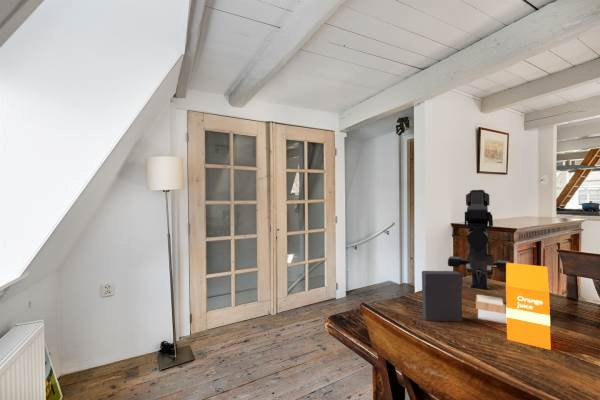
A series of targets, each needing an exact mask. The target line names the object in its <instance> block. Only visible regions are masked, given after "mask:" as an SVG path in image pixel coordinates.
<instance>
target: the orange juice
mask: <svg viewBox="0 0 600 400" xmlns="http://www.w3.org/2000/svg"><path fill="white" fill-rule="evenodd" d="M548 271H549V270H548V266H543V265H533V264H523V263H522V264H521V263H513V262H510V263H506V272H505V280H506V281H505V292H506V293H505V297H506V298H505V302H506V317H507V324H506V339H507V340H508V341H512V342H517V343H519V344H520V343H521V344H525V345H529V346H533V347H538V348H542V349H546V350H549V351H551V350H552V349H551V348H552V347H551V314H550V311H551V309H550V290H549V288H550V287H549V277H548V276H549V274H548Z"/></svg>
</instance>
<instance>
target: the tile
mask: <svg viewBox="0 0 600 400" xmlns="http://www.w3.org/2000/svg"><path fill="white" fill-rule="evenodd" d="M504 304H505V301H504V298H502V297H499V296H498V297H497V296H491V295H490V296H489V295H483V294H476V295H475V309H476V310H478V309H479V310H485V311H491V312H497V313H503V314H505V305H504Z"/></svg>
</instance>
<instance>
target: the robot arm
mask: <svg viewBox="0 0 600 400" xmlns="http://www.w3.org/2000/svg"><path fill="white" fill-rule="evenodd" d="M490 203H491V202H490V194H489V193H487V192H485V190H484V189H472V190H469V193H467V194H465V205H466V211H464V229H468V231H467V237H466V238H467V243H468V256H467V257H468V258H467V259H462V257H461V256H453V255H451V256H449V257H448V259H447V266H448V267H454V268H458V267H460V266H465V269H466V271H467V273H471V282H470V288H473V289H482V290H489V289H490V287H489V284H488V275H490V276H491V275H493V274H494V270H493V269H498V270H499V271H500V272H504V273H506V263H511V261H510V260H503V259H502V260H501V259H496V262H495V260H494V259H495V258H494V257H495V256H494V254H489V248H488V247H489V246H488V244H489V243H488V242H489V237H488V231H487V230H491V229H492V227H494V221H493V214H492V212H491V211H488V206H490Z"/></svg>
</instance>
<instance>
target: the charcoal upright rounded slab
mask: <svg viewBox="0 0 600 400" xmlns="http://www.w3.org/2000/svg"><path fill="white" fill-rule="evenodd" d="M462 288H463V274H462V273H460V272H459V271H457V270H422V271H421V296H422V297H421V299H422V300H421V302H422V317H423V318H424V320H425V321H428V322H429V321H433V322H434V321H435V322H437V321H438V322H462V321H463V301H462V300H463V297H462V296H463V295H462V293H463V292H462V290H463V289H462Z"/></svg>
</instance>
